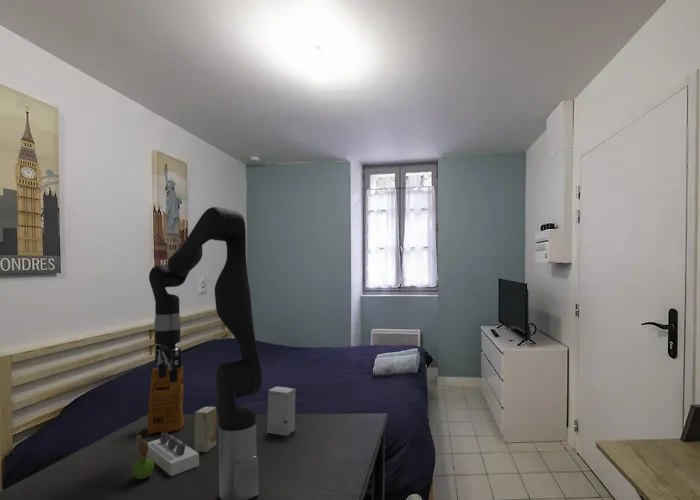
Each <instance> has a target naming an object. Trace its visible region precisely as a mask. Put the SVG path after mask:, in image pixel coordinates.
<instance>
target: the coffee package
mask: <svg viewBox="0 0 700 500" xmlns="http://www.w3.org/2000/svg"><path fill="white" fill-rule="evenodd" d="M148 397H149V398H148V399H149V402H148V410H147V434H148V435H152V434H156V433H168V434H169V433H173V432H176V431H181V430H182V428H183V426H184V424H185V417H184V413H183V411H184V410H183V407H184V366H183V365H181V368H179V369H177V382H173V383H171V382H169V368H166V377H164V378H159V377H158V368H154V367H153V368H152V370H151V375H150V391H149V396H148Z"/></svg>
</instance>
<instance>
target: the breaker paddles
mask: <svg viewBox="0 0 700 500" xmlns="http://www.w3.org/2000/svg"><path fill="white" fill-rule="evenodd" d="M160 433H161V432H160ZM171 436H172V435H170V434H169V432H168V433H161V434H160V438H159V439H160V442H162V443H166V442H168V446H167V447H169V448H175V447H176V446H177V448H176V453H177V454H184V451H185V445H186V444H185V443H184V444H183V442H182V441H180V440H179V439H177V438H176V437H174V436H173V437H174V438H173V437H171ZM168 440H169V441H168ZM178 440H179V441H180V442H179V441H178ZM181 442H182V443H181Z"/></svg>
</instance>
